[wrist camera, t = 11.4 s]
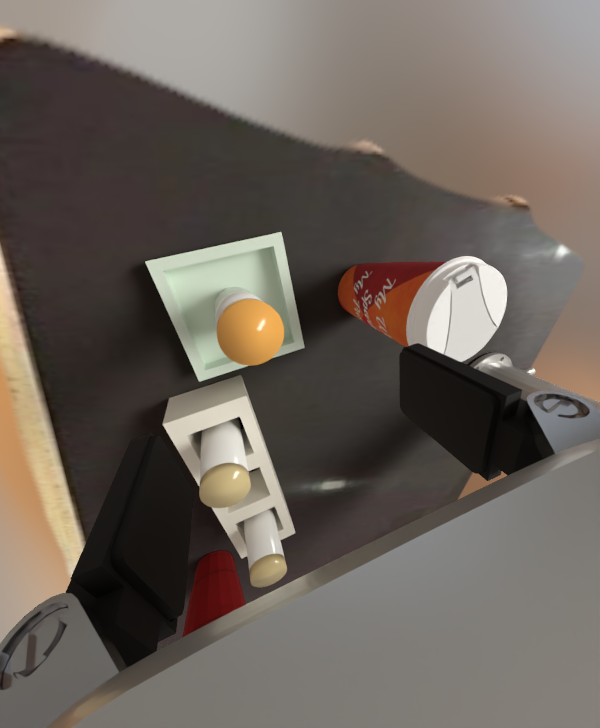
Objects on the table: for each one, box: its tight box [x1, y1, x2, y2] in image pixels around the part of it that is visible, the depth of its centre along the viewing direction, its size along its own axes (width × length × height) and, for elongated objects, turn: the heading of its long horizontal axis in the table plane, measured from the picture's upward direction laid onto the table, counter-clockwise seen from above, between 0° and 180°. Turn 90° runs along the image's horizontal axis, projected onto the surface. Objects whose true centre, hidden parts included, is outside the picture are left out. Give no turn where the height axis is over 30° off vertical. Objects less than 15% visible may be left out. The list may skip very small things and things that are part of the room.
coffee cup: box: [338, 256, 507, 362], centre depth 25 cm, size 8×8×15 cm
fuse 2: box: [243, 508, 287, 587], centre depth 35 cm, size 4×4×11 cm
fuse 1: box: [199, 417, 251, 508], centre depth 27 cm, size 4×4×11 cm
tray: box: [145, 232, 305, 382], centre depth 26 cm, size 12×12×2 cm
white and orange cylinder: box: [214, 287, 284, 365], centre depth 21 cm, size 4×4×11 cm
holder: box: [163, 375, 295, 558], centre depth 33 cm, size 8×26×5 cm, turn 12°
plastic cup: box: [182, 551, 246, 637], centre depth 37 cm, size 11×11×12 cm
